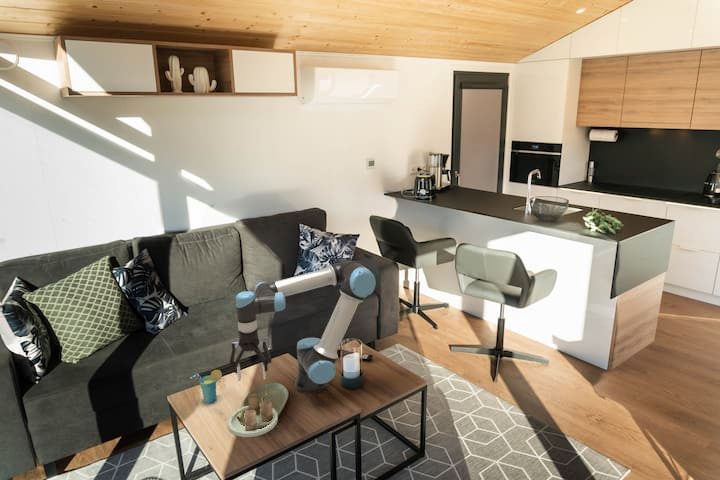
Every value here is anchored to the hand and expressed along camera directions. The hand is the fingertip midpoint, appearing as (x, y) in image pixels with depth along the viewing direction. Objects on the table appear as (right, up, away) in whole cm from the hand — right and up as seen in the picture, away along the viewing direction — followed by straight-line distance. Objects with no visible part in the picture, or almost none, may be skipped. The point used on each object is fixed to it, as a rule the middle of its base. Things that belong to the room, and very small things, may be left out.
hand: (252, 378), depth 206 cm
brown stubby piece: (0, -16, +4) cm, 17 cm away
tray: (+1, -18, -1) cm, 18 cm away
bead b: (+1, -19, -7) cm, 20 cm away
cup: (-23, -15, +15) cm, 31 cm away
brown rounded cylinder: (+7, -17, -1) cm, 18 cm away
